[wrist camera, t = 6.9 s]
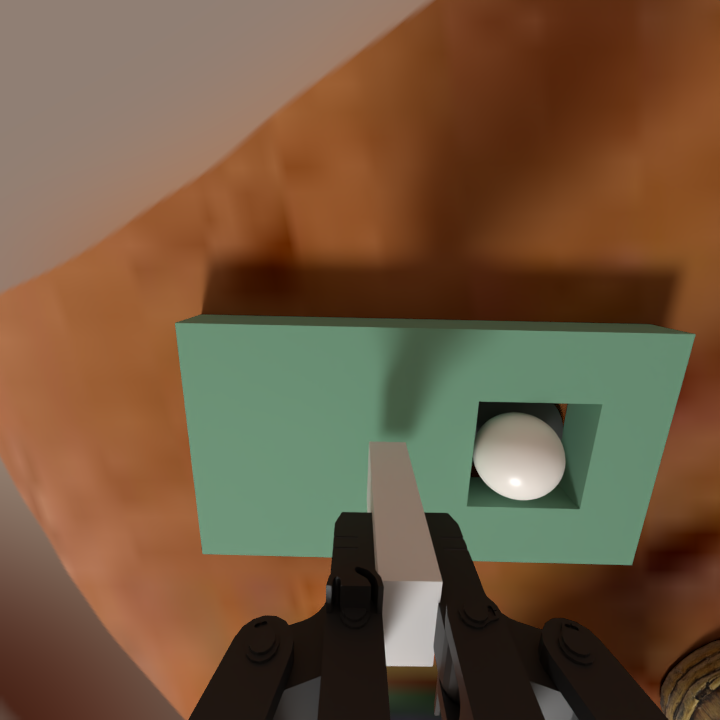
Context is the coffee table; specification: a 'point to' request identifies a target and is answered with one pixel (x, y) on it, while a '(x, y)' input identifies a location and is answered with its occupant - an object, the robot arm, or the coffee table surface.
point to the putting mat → (423, 427)
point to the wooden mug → (694, 686)
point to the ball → (519, 456)
